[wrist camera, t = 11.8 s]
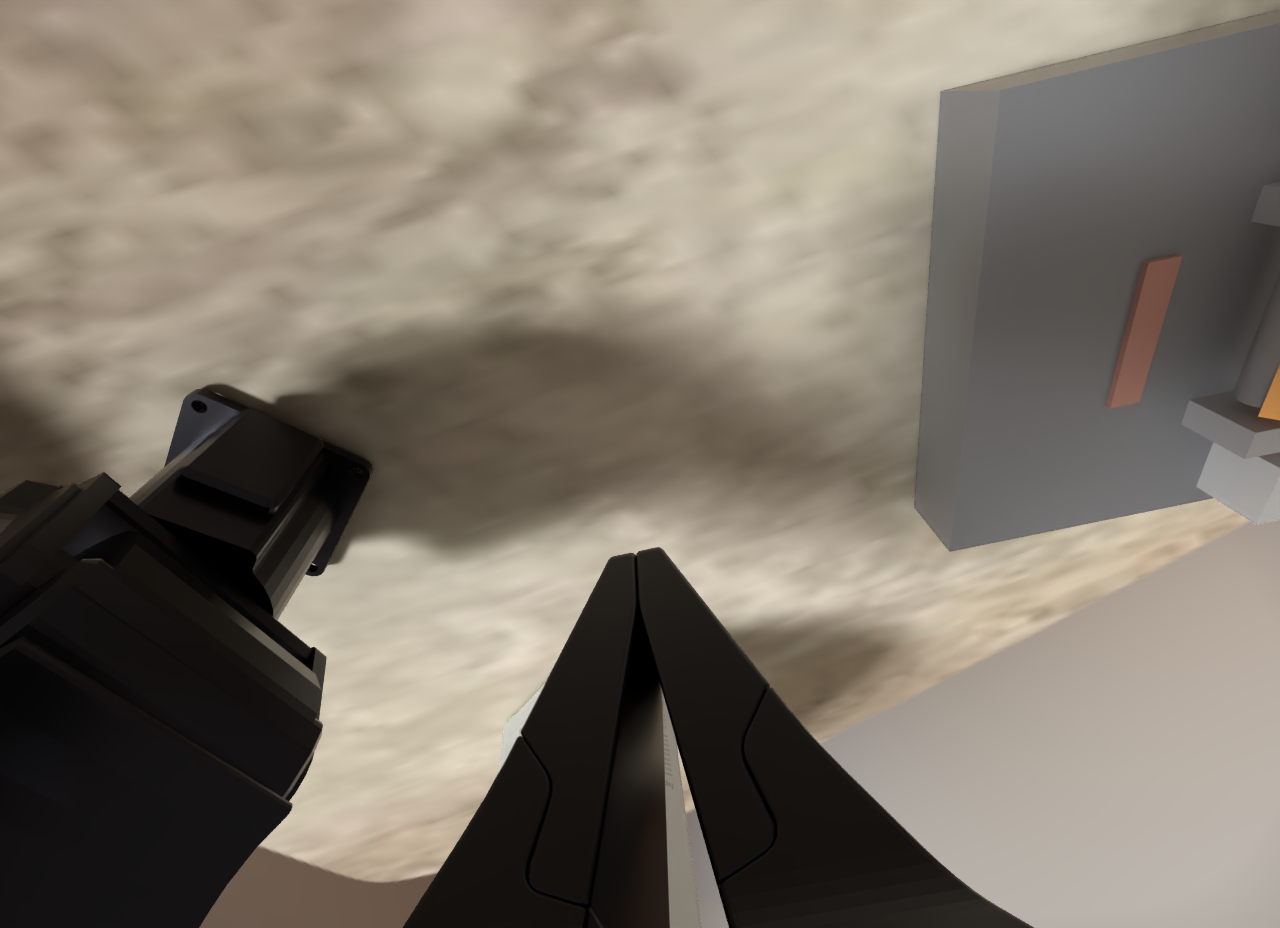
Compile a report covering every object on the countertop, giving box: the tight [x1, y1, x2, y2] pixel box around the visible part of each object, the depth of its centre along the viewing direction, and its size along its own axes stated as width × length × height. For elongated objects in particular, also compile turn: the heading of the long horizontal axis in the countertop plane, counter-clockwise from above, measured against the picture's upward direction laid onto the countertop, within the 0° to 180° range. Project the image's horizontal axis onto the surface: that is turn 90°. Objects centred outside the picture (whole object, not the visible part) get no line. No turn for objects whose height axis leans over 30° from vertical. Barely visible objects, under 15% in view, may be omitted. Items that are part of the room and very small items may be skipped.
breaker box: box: [914, 10, 1280, 551], centre depth 19 cm, size 14×16×5 cm
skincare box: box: [498, 682, 701, 928], centre depth 25 cm, size 8×6×15 cm
